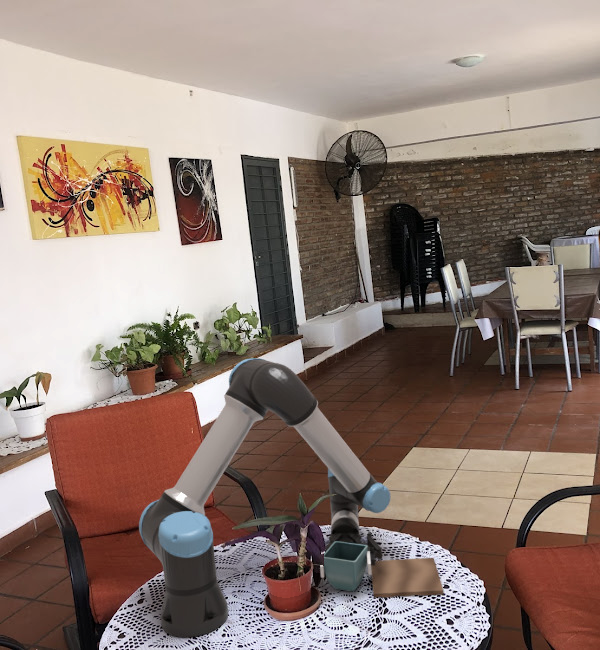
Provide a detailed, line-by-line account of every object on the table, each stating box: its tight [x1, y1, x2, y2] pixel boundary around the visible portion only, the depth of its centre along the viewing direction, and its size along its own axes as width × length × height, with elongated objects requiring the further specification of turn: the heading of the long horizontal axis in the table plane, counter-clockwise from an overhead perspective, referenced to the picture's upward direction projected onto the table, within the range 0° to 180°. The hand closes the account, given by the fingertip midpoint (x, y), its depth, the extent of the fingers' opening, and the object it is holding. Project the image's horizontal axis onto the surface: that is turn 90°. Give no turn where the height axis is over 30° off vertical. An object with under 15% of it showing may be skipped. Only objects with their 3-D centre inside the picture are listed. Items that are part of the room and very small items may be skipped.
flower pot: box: [324, 541, 368, 592], centre depth 162 cm, size 9×9×9 cm
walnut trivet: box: [371, 557, 444, 599], centre depth 163 cm, size 16×16×1 cm
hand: (345, 570), depth 158 cm, fingers closed on flower pot, 10 cm apart
